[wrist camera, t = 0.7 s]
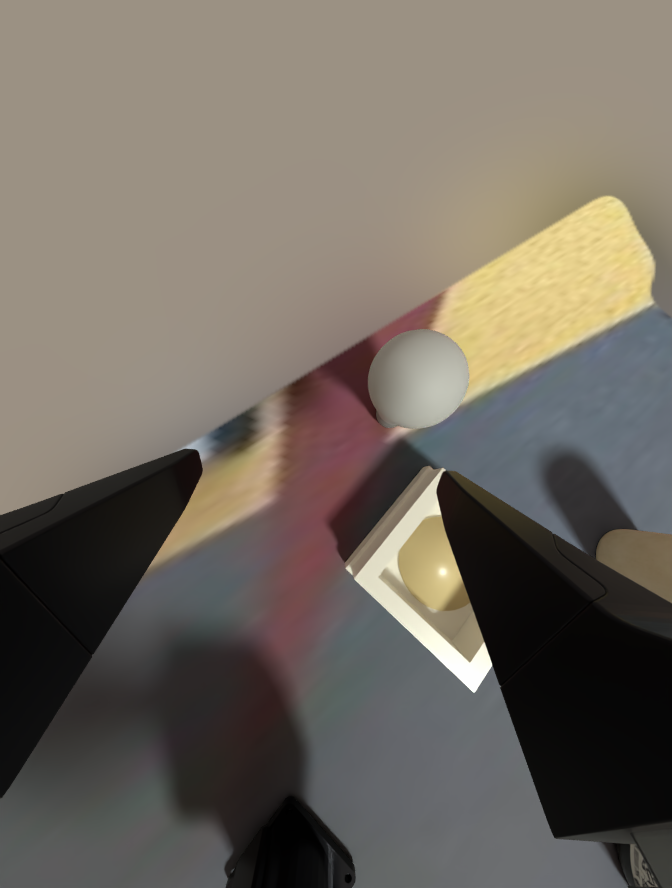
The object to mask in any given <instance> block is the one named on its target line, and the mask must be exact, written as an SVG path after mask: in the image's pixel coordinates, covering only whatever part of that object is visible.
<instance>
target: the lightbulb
mask: <svg viewBox="0 0 672 888" xmlns="http://www.w3.org/2000/svg"><path fill="white" fill-rule="evenodd" d="M468 385H469V369H468V363H467V360H466V357H465V355H464V353H463V351H462V349H461V348H460V347H459V346H458V345H457V343H456V342H454V341H453V340H452V339H451V338H449V337H448V336H446V335H444V334H442V333H439V332H437V331H433V330H428V329H418V330H412V331H407V332H404V333H402V334H399V335H397V336H396V337H394V338H393V339H391V340H390V341H388V342H387V343H386V344H385V345H384V346H383V347H382V348H381V349H380V350H379V352H378V353H377V355H376V356H375V358H374V359H373V362H372V364H371V367H370V370H369V375H368V389H369V394H370V398H371V401H372V403H373V405H374V407H375V408H376V410H377V411H376V418H377V420H378V422H379V423H380V424H381V425H382V426H384V427H386V428H394V427H396V426H400V427H404V428H425V427H430V426H433V425H435V424H438V423H440V422H441V421H443V420H444V419H446V418H447V417H449V416H450V415H451V414H452V413H453V412H454V411H455V410H456V409H457V408H458V406H459V405H460V403H461V402H462V400H463V398H464V396H465V394H466V391H467V388H468Z"/></svg>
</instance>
